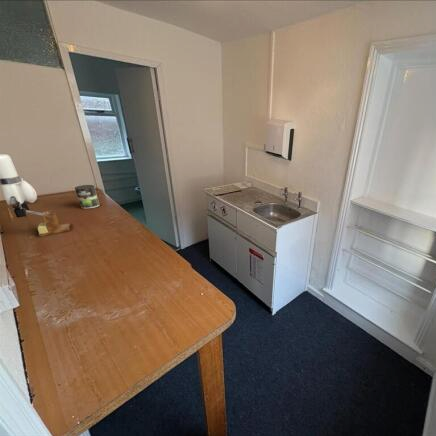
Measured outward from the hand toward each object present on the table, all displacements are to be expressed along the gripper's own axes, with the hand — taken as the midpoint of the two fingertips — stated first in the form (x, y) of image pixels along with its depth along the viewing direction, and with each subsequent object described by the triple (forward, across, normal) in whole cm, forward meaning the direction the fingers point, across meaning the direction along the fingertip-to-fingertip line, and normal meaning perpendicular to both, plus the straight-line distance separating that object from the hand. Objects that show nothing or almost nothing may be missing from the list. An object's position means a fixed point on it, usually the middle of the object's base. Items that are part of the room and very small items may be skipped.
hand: (23, 213), depth 118 cm
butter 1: (+11, -2, +5) cm, 12 cm away
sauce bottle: (+12, -66, -7) cm, 68 cm away
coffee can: (+12, -36, +25) cm, 45 cm away
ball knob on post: (+2, 0, +3) cm, 4 cm away
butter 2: (+11, +2, +5) cm, 12 cm away
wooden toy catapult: (+12, 0, +9) cm, 15 cm away
